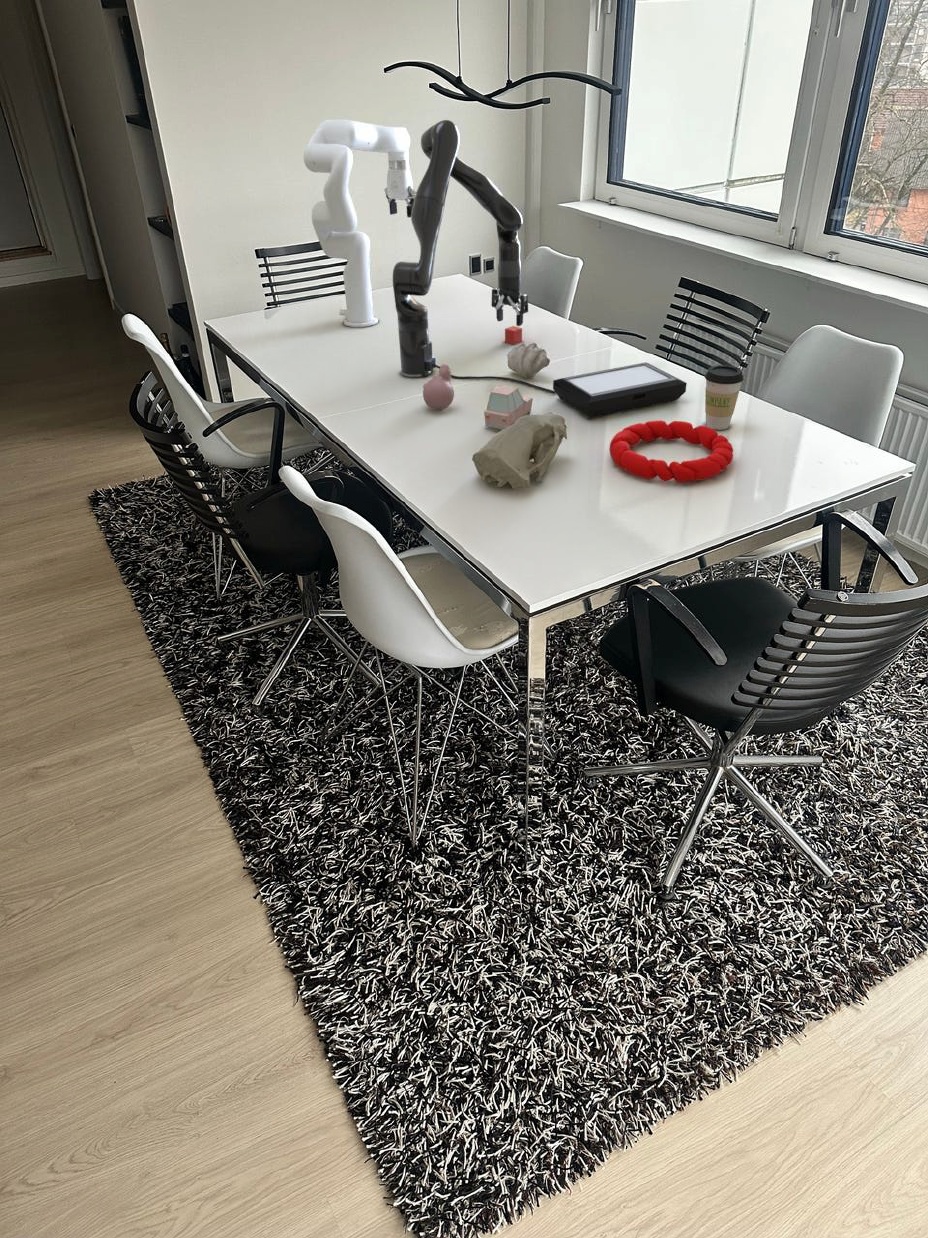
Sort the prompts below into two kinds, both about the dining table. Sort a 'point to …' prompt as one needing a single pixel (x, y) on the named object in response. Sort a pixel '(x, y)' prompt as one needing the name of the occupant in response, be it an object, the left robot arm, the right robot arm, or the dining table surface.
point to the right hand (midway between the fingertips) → (509, 322)
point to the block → (513, 335)
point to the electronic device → (619, 389)
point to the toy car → (506, 407)
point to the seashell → (527, 359)
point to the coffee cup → (721, 395)
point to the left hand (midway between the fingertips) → (402, 215)
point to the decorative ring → (676, 471)
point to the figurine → (439, 389)
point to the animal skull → (521, 450)
